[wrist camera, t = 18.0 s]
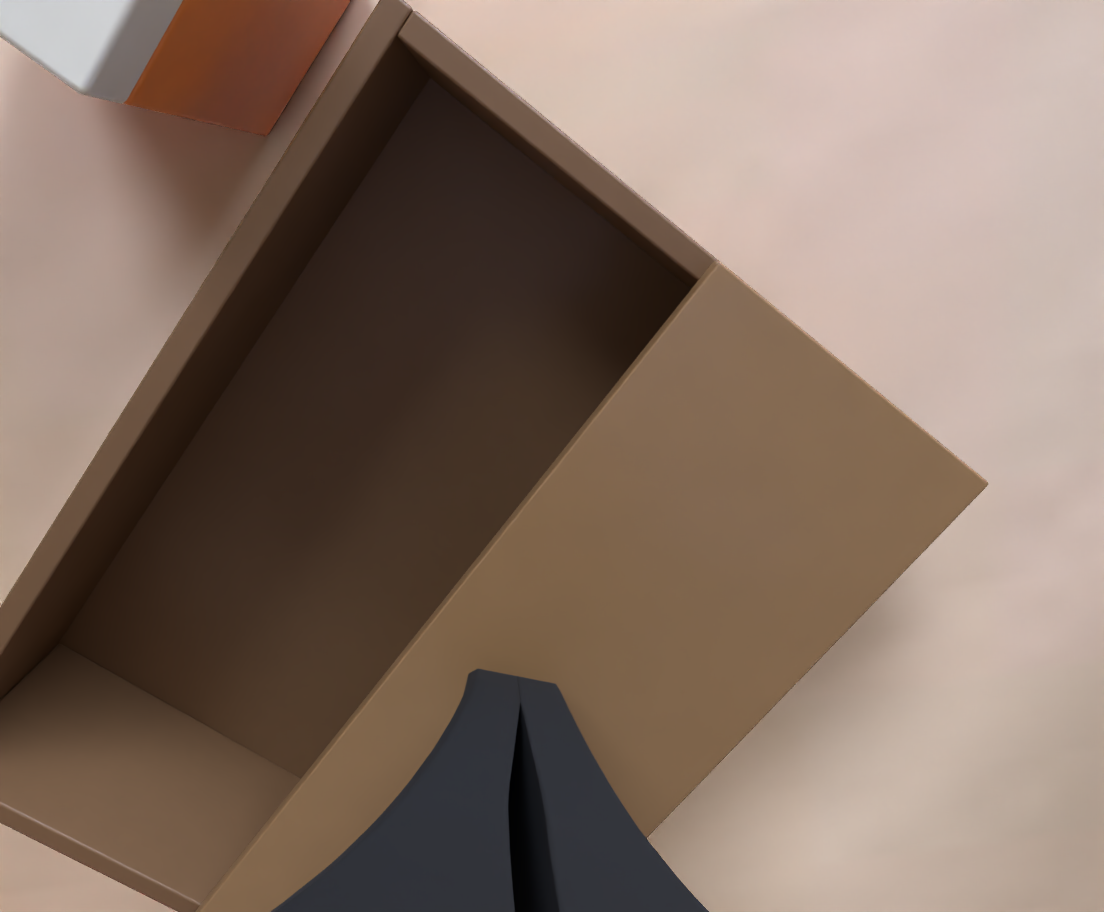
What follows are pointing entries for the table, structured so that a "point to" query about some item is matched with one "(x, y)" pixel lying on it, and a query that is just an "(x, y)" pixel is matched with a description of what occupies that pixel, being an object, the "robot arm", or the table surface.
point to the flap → (652, 576)
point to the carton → (318, 456)
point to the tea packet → (178, 52)
